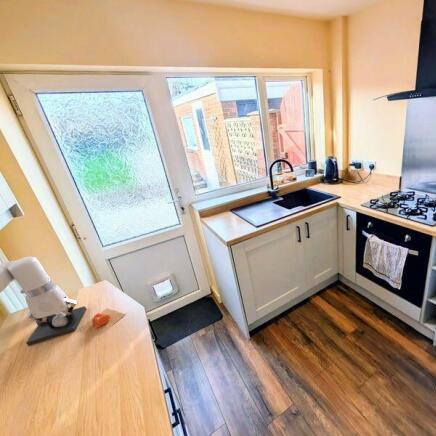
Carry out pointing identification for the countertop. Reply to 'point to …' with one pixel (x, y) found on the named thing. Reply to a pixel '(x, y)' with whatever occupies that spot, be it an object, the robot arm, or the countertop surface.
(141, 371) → the countertop surface
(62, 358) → the countertop surface
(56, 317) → the garlic
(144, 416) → the countertop surface
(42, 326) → the scale
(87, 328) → the shallow wooden dish
